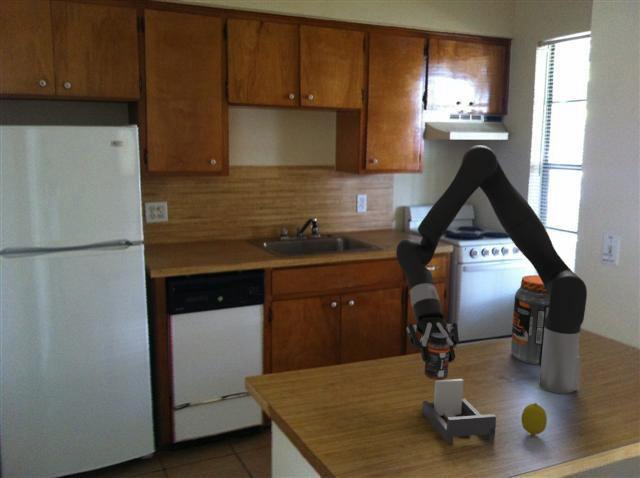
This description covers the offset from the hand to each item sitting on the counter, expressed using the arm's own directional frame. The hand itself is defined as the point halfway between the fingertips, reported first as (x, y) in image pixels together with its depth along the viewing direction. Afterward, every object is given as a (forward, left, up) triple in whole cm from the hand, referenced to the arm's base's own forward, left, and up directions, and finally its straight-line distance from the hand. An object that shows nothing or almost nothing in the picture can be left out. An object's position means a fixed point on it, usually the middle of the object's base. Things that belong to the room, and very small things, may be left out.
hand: (439, 361), depth 148 cm
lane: (0, +11, -12) cm, 16 cm away
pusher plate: (0, +11, -12) cm, 16 cm away
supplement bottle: (0, -2, -5) cm, 5 cm away
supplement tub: (-45, -28, -12) cm, 54 cm away
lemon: (-16, +18, -12) cm, 27 cm away
